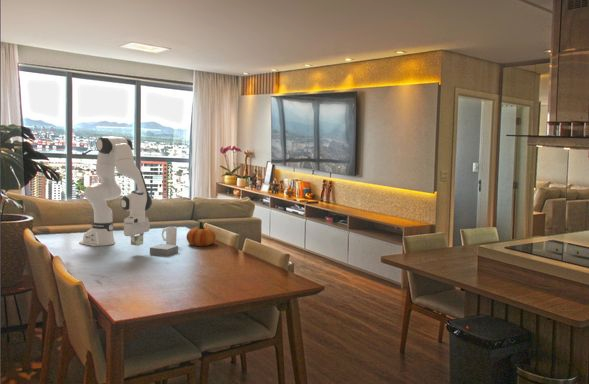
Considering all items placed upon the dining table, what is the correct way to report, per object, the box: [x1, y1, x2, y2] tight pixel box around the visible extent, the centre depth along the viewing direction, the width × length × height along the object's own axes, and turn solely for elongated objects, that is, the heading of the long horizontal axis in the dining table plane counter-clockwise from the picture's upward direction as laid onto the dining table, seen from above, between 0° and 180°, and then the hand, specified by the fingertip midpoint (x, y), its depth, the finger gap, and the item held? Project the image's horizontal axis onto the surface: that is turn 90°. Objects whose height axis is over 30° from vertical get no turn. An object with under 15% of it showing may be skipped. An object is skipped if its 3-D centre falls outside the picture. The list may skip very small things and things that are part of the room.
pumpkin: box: [186, 221, 217, 247], centre depth 332 cm, size 19×19×15 cm
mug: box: [161, 226, 178, 246], centre depth 326 cm, size 10×7×12 cm, turn 77°
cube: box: [130, 234, 144, 247], centre depth 299 cm, size 5×5×5 cm
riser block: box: [149, 243, 179, 257], centre depth 304 cm, size 12×12×4 cm
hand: (137, 241), depth 299 cm, fingers closed on cube, 5 cm apart
